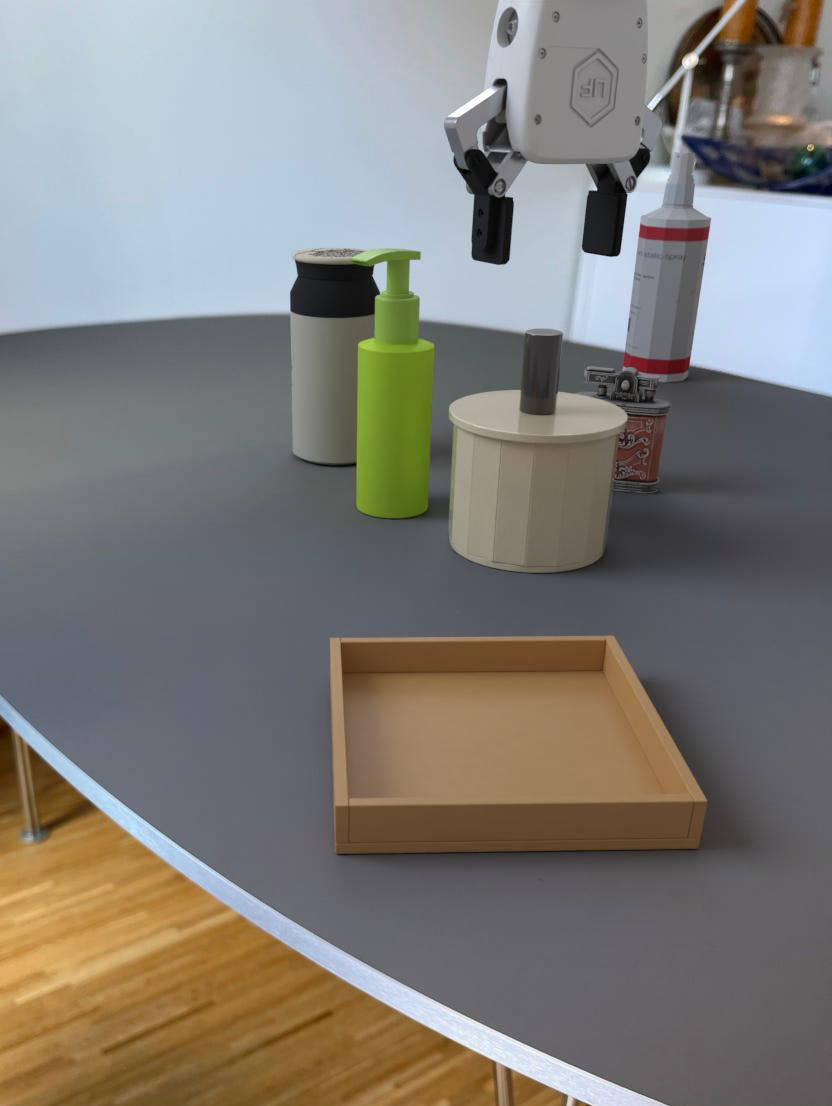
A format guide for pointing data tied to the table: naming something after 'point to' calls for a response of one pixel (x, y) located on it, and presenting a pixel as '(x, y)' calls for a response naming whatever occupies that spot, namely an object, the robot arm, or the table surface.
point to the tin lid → (539, 403)
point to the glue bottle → (668, 280)
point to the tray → (502, 749)
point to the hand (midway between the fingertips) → (546, 258)
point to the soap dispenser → (394, 398)
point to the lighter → (633, 425)
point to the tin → (530, 502)
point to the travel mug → (328, 351)
